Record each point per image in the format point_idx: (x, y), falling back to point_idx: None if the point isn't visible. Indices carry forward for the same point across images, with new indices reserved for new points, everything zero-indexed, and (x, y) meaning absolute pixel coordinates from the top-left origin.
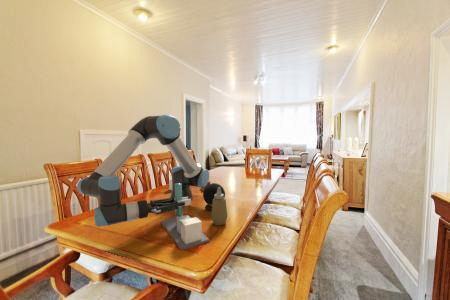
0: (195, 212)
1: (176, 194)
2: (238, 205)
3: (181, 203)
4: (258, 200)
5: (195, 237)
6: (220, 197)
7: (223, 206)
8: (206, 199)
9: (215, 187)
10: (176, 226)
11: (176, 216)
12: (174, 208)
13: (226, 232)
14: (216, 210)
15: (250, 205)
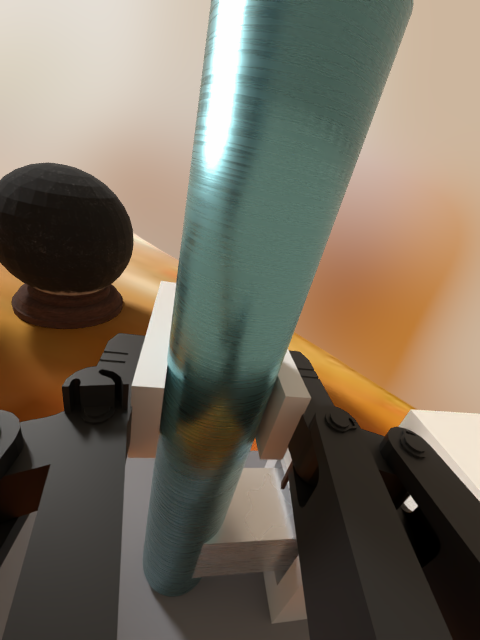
0: (19, 369)
1: (299, 294)
2: (130, 267)
3: (320, 388)
4: (142, 241)
5: None
6: None
7: None
8: (68, 269)
9: (103, 190)
10: (186, 600)
11: (206, 546)
12: (431, 532)
13: (329, 378)
14: None
15: (159, 259)
